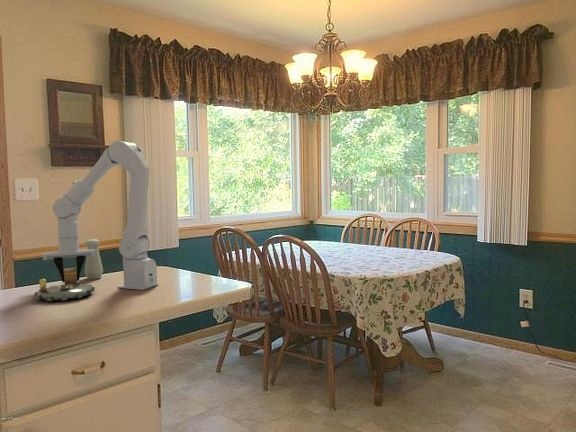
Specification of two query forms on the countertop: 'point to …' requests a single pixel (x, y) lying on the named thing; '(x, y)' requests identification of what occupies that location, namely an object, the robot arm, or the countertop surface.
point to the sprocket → (62, 291)
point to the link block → (70, 276)
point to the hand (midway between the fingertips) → (70, 280)
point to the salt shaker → (93, 261)
